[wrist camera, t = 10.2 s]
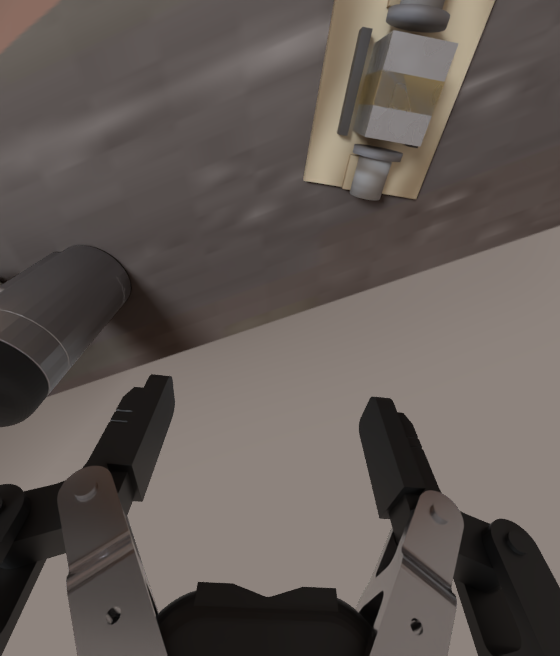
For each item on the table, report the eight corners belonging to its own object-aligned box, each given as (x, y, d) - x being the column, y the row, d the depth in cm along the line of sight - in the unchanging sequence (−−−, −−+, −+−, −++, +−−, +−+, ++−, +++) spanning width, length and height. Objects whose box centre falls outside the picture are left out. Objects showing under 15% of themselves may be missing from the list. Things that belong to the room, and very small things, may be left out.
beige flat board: (303, 178, 32) (305, 191, 27) (344, -57, 22) (357, -98, 18) (412, 196, 33) (431, 211, 28) (498, -25, 23) (548, -55, 18)
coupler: (373, 43, 24) (392, 29, 20) (427, 54, 25) (459, 43, 20) (352, 130, 28) (364, 136, 23) (399, 138, 28) (420, 146, 24)
